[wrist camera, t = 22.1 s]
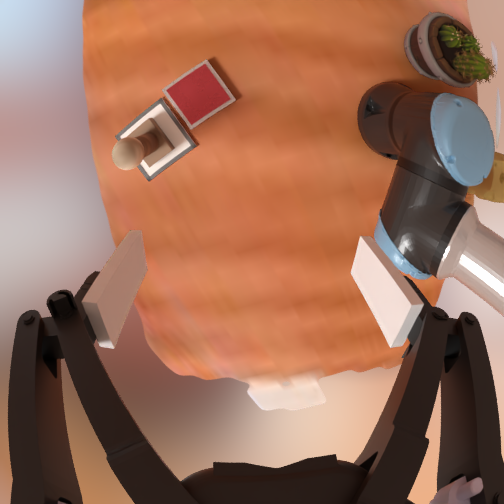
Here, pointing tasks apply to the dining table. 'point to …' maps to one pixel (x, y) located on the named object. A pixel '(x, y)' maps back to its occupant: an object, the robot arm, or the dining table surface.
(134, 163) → the stamp
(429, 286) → the dining table surface
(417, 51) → the flowerpot
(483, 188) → the cheese
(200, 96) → the ink pad
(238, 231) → the dining table surface
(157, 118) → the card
